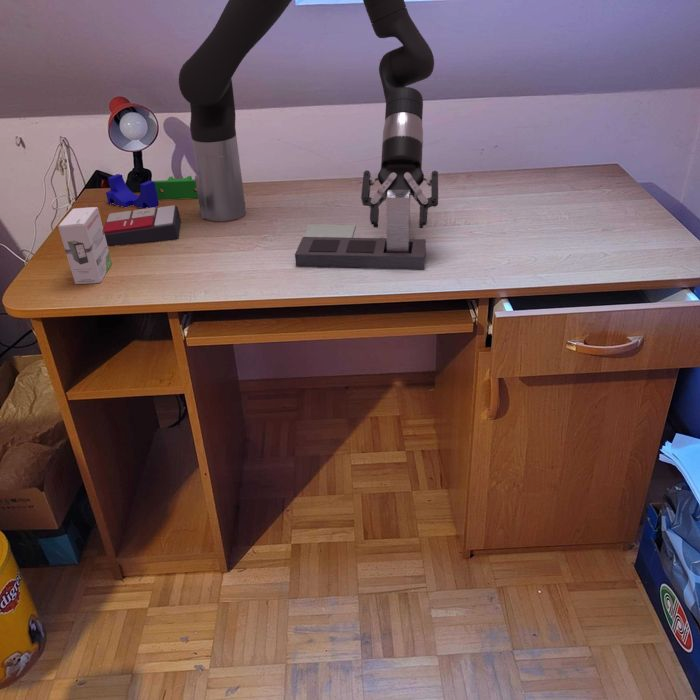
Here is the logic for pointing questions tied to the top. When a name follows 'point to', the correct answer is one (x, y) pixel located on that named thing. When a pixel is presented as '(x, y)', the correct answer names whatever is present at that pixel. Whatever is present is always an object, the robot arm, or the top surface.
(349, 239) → the dark grey slotted tray
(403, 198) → the steel plug
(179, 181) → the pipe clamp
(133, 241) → the red grey box
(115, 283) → the top surface
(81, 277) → the ink box
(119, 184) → the cable clip
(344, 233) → the mat
